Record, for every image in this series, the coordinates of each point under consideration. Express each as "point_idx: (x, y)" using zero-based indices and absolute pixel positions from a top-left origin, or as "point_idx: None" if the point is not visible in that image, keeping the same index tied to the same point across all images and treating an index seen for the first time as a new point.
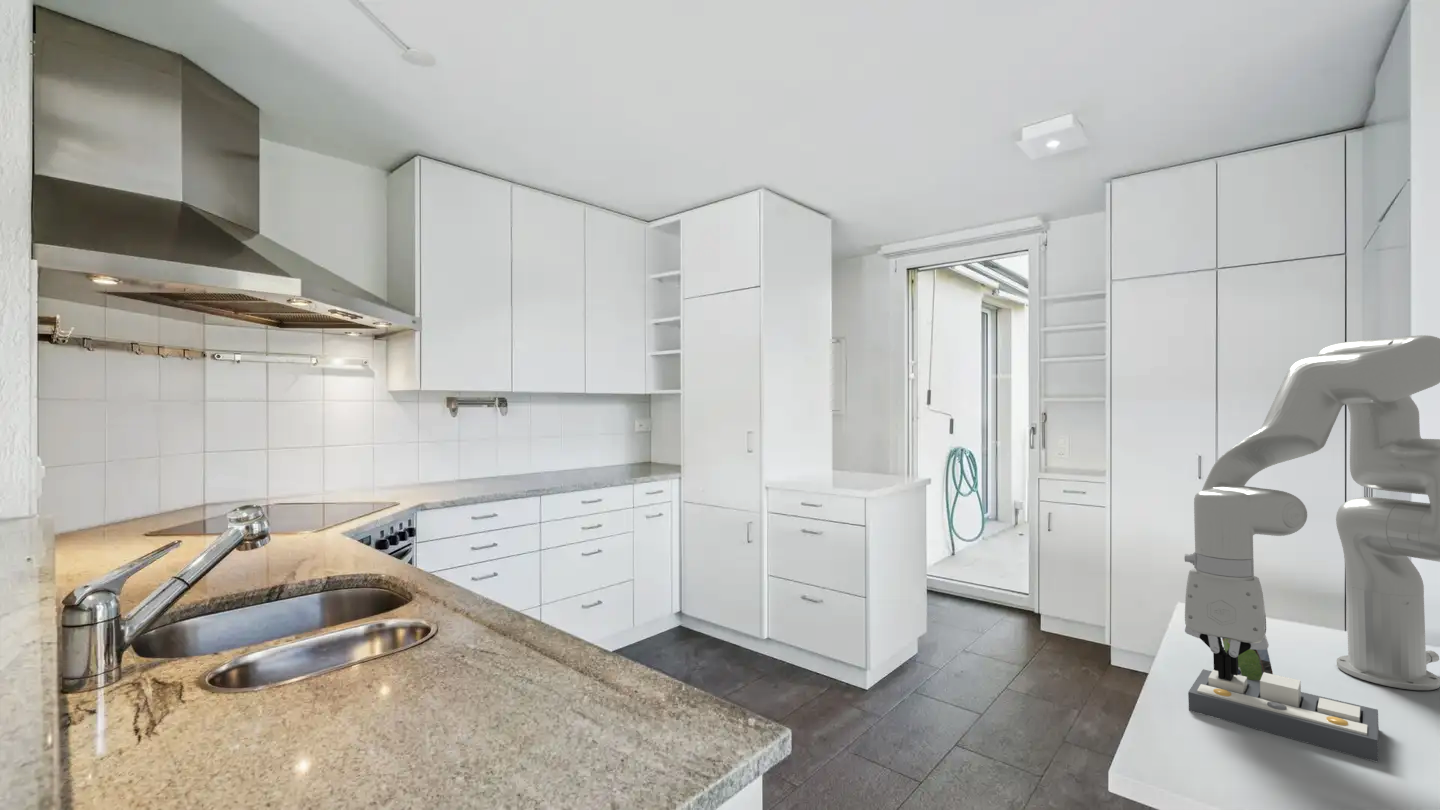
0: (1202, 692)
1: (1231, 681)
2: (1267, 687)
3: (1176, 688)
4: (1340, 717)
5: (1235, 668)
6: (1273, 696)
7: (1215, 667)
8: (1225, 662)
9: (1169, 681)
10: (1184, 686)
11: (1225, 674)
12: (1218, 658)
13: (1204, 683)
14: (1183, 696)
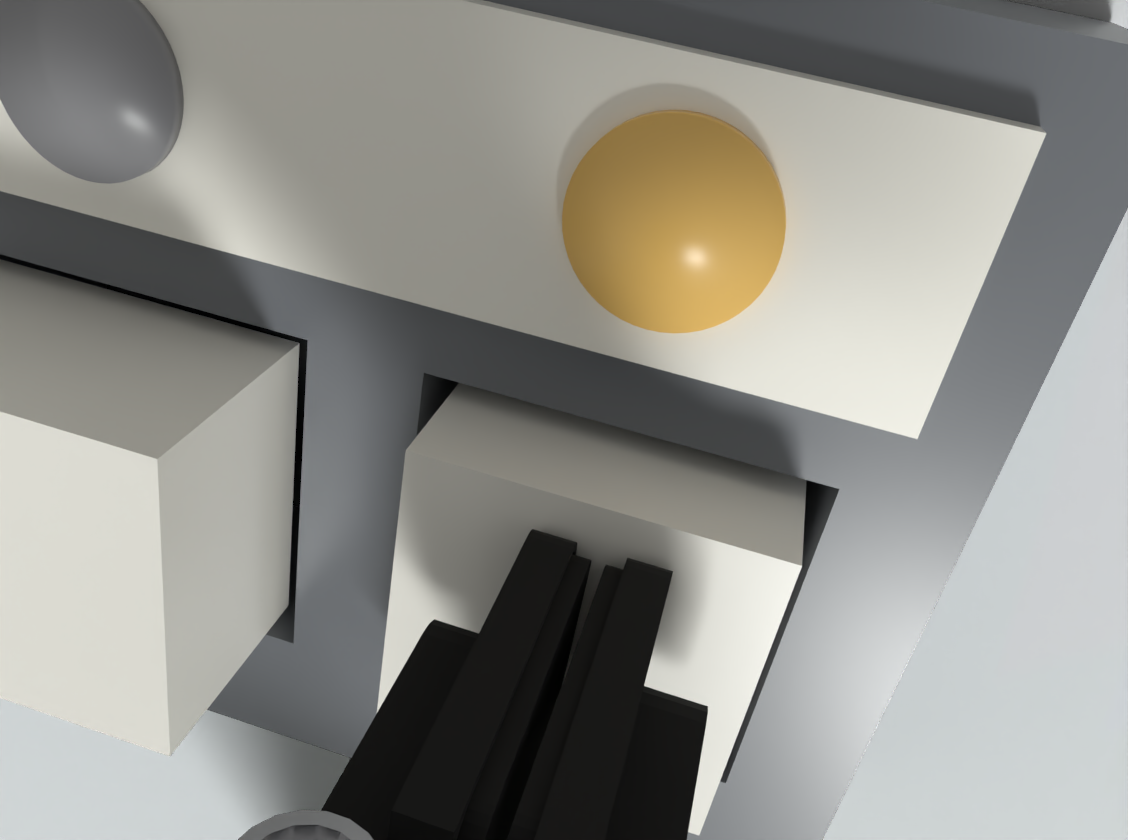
0: (963, 112)
1: (527, 531)
2: (124, 399)
3: (1082, 635)
4: None
5: (410, 680)
6: (136, 340)
7: (681, 721)
8: (510, 735)
9: (1110, 774)
10: (980, 705)
11: (571, 591)
12: (603, 805)
13: (850, 524)
14: (1059, 456)
